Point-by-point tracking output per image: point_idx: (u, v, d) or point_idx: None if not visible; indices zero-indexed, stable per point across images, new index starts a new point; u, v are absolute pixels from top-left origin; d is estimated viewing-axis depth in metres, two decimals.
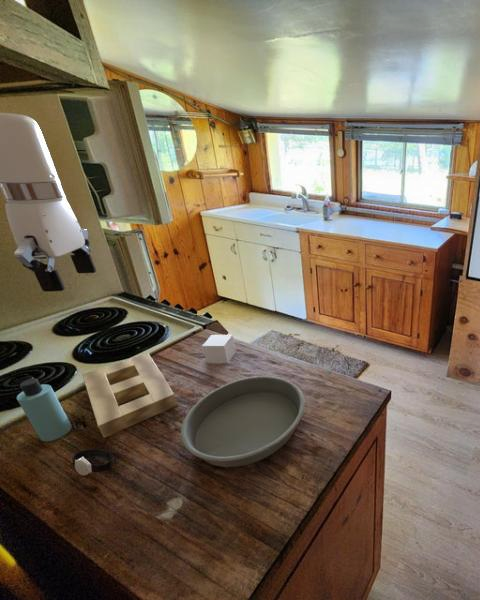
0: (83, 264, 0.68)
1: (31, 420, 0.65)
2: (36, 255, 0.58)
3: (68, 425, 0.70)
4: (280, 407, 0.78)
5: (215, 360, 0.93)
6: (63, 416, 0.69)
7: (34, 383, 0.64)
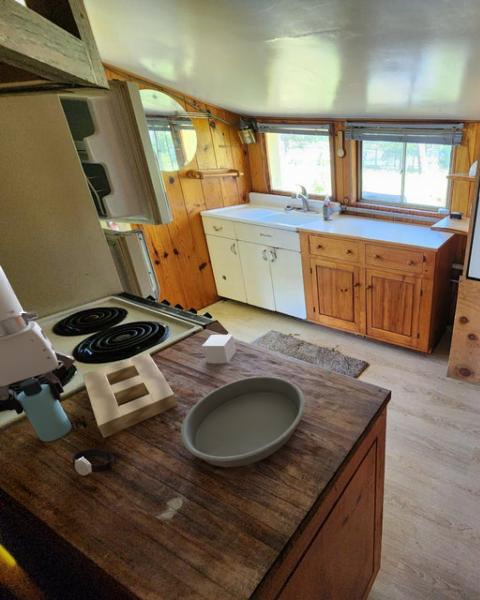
0: None
1: (31, 420, 0.65)
2: None
3: (68, 425, 0.70)
4: (280, 407, 0.78)
5: (215, 360, 0.93)
6: (63, 416, 0.69)
7: (34, 383, 0.64)
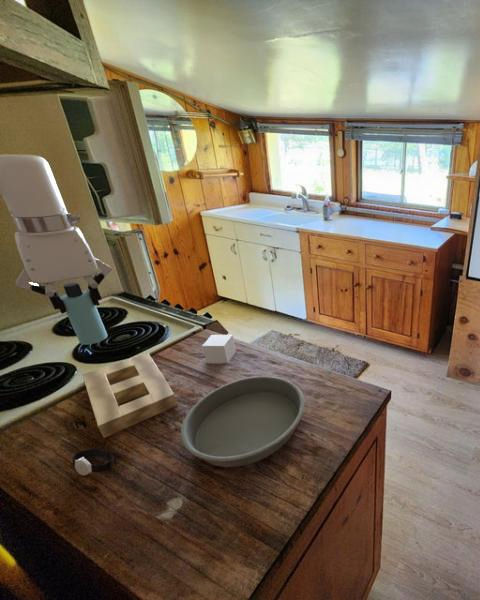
0: None
1: (72, 321, 0.70)
2: None
3: (105, 333, 0.75)
4: (280, 407, 0.78)
5: (215, 360, 0.93)
6: (100, 323, 0.73)
7: (76, 285, 0.68)
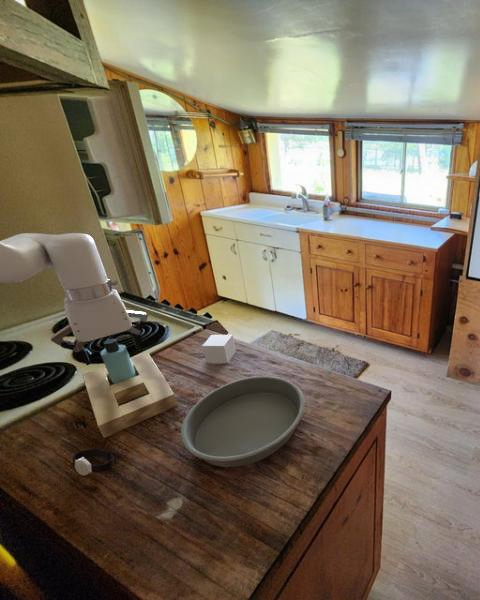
0: (134, 341, 0.81)
1: (110, 373, 0.79)
2: None
3: None
4: (280, 407, 0.78)
5: (215, 360, 0.93)
6: (134, 372, 0.82)
7: (114, 342, 0.78)
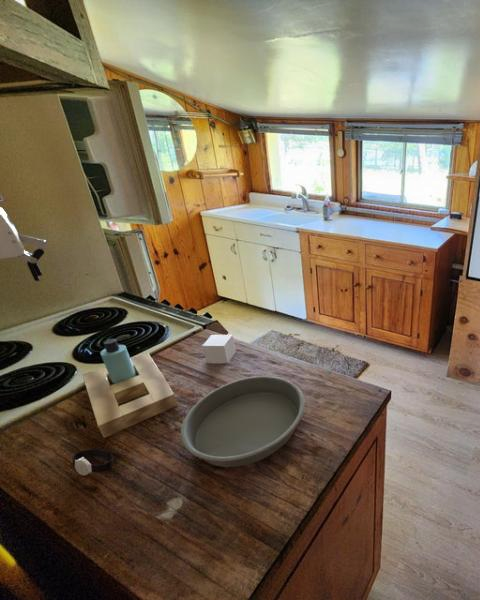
0: (31, 271, 0.71)
1: (110, 373, 0.79)
2: None
3: None
4: (280, 407, 0.78)
5: (215, 360, 0.93)
6: (134, 372, 0.82)
7: (114, 342, 0.78)
